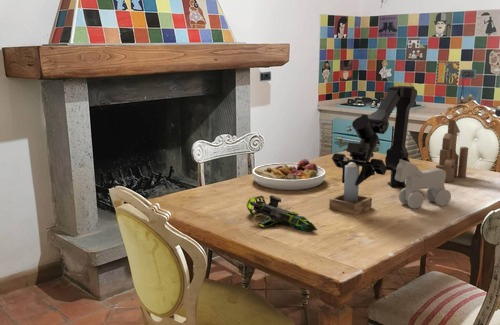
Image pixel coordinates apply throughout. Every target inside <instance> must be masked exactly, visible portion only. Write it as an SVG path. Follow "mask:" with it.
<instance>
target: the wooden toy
mask: <svg viewBox="0 0 500 325" xmlns="http://www.w3.org/2000/svg"><path fill="white" fill-rule="evenodd" d="M447 123H448V125H447V133H444V135H443V137H442V144H441V149H440V150H439V160H438V164H437V165H435V168H439V169H442V170H444V171H445V172H446V178H445V182H444V183H448V184H451V183H454V181H455V180H454V178H455V177H459V178H466V177H467V168H468V167H467V166H468V158H469V157H468V156H469V147H467V146H461V147H459V154H458V153H457V141H458V140H457V139H458V134H459V133H460V132H461V131H460V129H459V126H458V125H457V122H456V119H450V118H449V119H448V122H447Z"/></svg>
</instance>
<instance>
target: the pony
mask: <svg viewBox="0 0 500 325" xmlns="http://www.w3.org/2000/svg"><path fill="white" fill-rule="evenodd" d="M445 178H446V172H445V171H444V170H442V169H439V168H436V167H432V168H428V169H424V170H420V169H419V168H418V166H417V165H416V164H414V163H412V162H411V161H410V162H407V161H404V160H402V159H400V160H399V164H398V165H397V168H396V175H395V180H397V181H399V182H404V181H405V184H406V187H403V188H402V189H401V191H399V193H398V200H399V202H400V203H401V204H403V205H408V207H409V208H410V209H413V210H414V209H415V210H417V209H419V208H420V207H421V206H422V205H423V204H424V201H425V200H424V195H423V194H422V192H420V190H423V189H424V190H426V192H425V196H426V197H425V198H426V199H427V200H428V201H430V202H431V201H432V202H435V203H436V205H437V206H440V207H445V206H446V205H448V204H449V203H450V201H451V199H452V196H451V195H452V194H451V192H450V190H447V189H446V187H445V183H446V182H445ZM416 208H417V209H416Z"/></svg>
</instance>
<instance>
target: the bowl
mask: <svg viewBox="0 0 500 325" xmlns="http://www.w3.org/2000/svg"><path fill="white" fill-rule="evenodd" d="M252 177H253V180H254V181H255V183H257V184H258V185H260V186H262V187H265V188H269V189H273V190H281V191H299V190H308V189H312V188H315V187H317V186H319V185H321V184H322V183H323V182H324V180H325V178H326V170H325V168H322V167H320V166H317V164H315V163H314V162H312V163H311V162H310V161H309V159H306V158H304V159H301V160H300V161H299V162H298V163H297V162H279V163H278V162H275V163H268V164H262V165H259V166H256V167H254V168H253V169H252Z"/></svg>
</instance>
